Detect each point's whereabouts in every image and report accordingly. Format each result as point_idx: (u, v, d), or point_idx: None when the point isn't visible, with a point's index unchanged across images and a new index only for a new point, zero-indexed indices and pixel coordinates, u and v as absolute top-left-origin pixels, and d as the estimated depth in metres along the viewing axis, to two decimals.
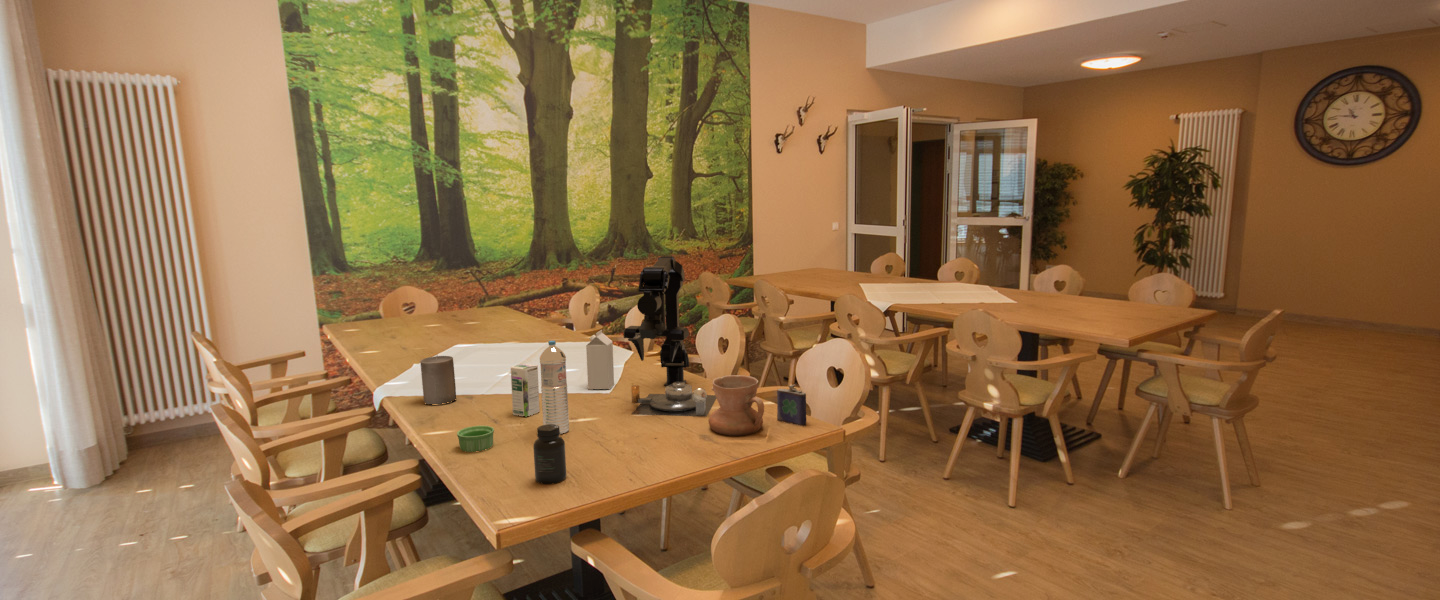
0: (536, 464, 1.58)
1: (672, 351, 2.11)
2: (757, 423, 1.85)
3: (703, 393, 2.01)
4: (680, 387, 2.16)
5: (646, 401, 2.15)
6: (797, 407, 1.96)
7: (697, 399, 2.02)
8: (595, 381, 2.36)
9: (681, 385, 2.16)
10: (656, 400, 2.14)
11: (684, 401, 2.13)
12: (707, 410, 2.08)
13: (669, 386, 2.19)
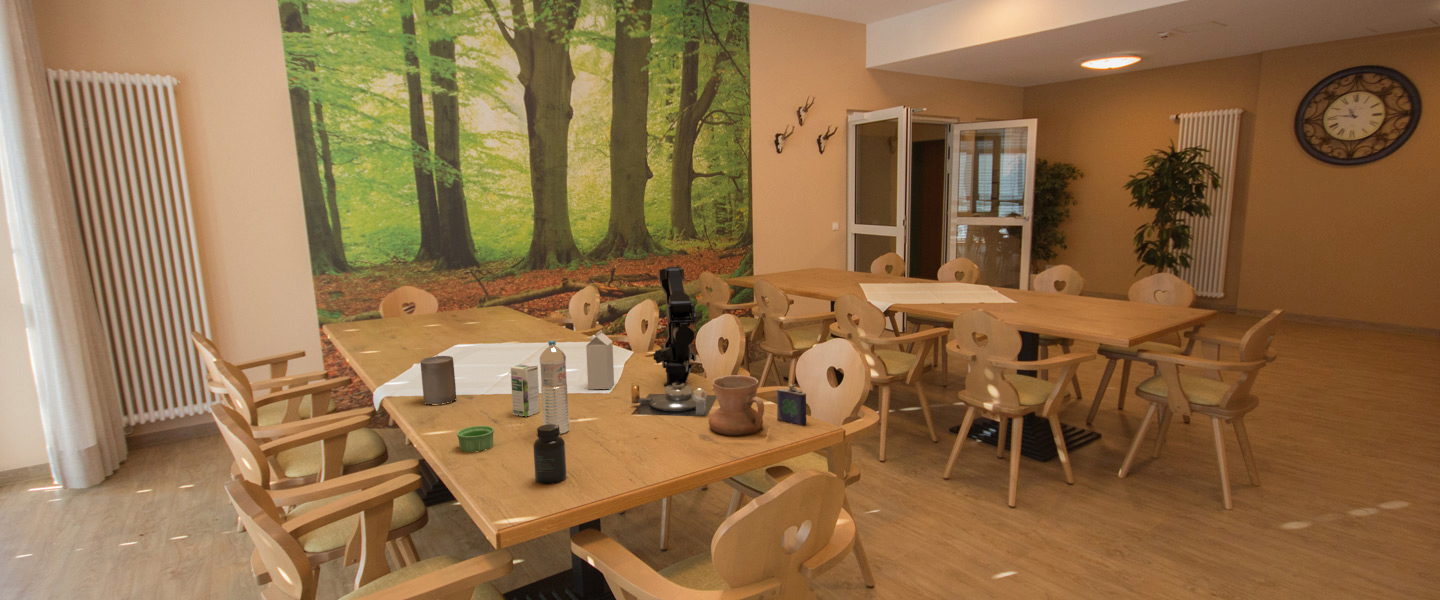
0: (536, 464, 1.58)
1: None
2: (757, 423, 1.85)
3: (703, 393, 2.01)
4: (680, 387, 2.16)
5: (646, 401, 2.15)
6: (797, 407, 1.96)
7: (697, 399, 2.02)
8: (595, 381, 2.36)
9: (681, 385, 2.16)
10: (656, 400, 2.14)
11: (684, 401, 2.13)
12: (707, 410, 2.08)
13: (669, 386, 2.18)
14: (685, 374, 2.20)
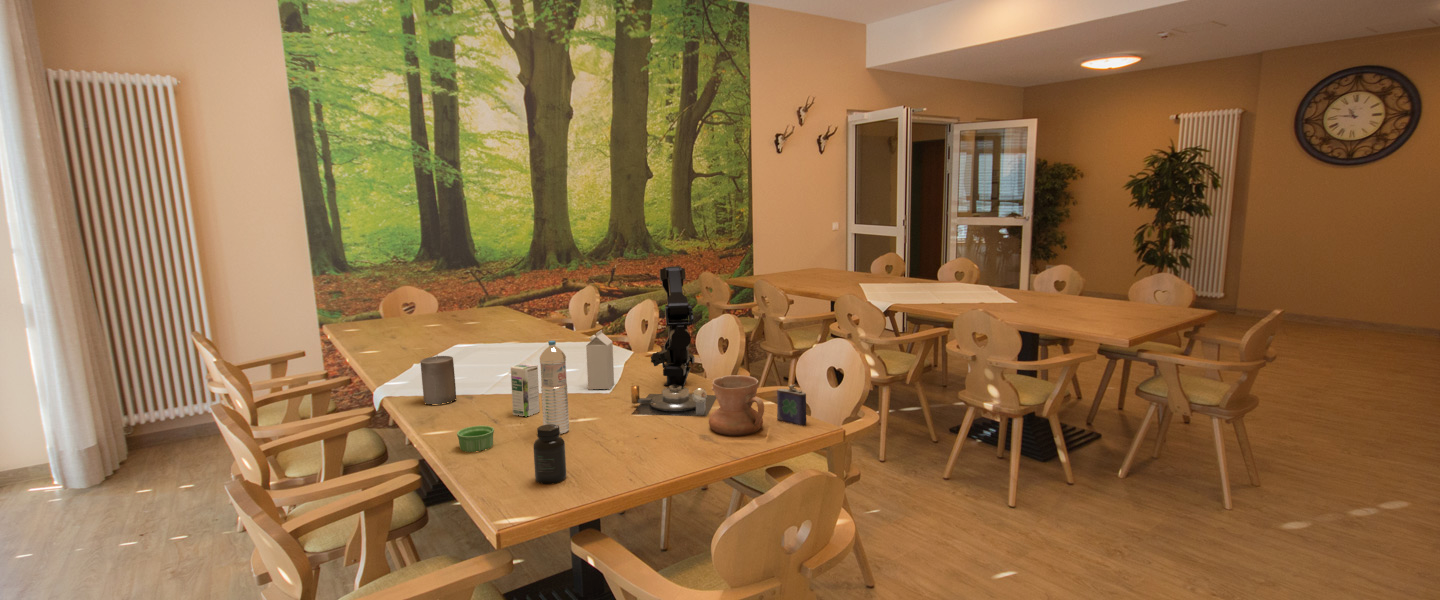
0: (536, 464, 1.58)
1: None
2: (757, 423, 1.85)
3: (703, 393, 2.01)
4: (677, 390, 2.13)
5: (646, 401, 2.15)
6: (797, 407, 1.96)
7: (697, 399, 2.02)
8: (595, 381, 2.36)
9: (678, 388, 2.13)
10: (656, 400, 2.14)
11: None
12: (707, 410, 2.08)
13: (666, 389, 2.15)
14: (683, 377, 2.17)
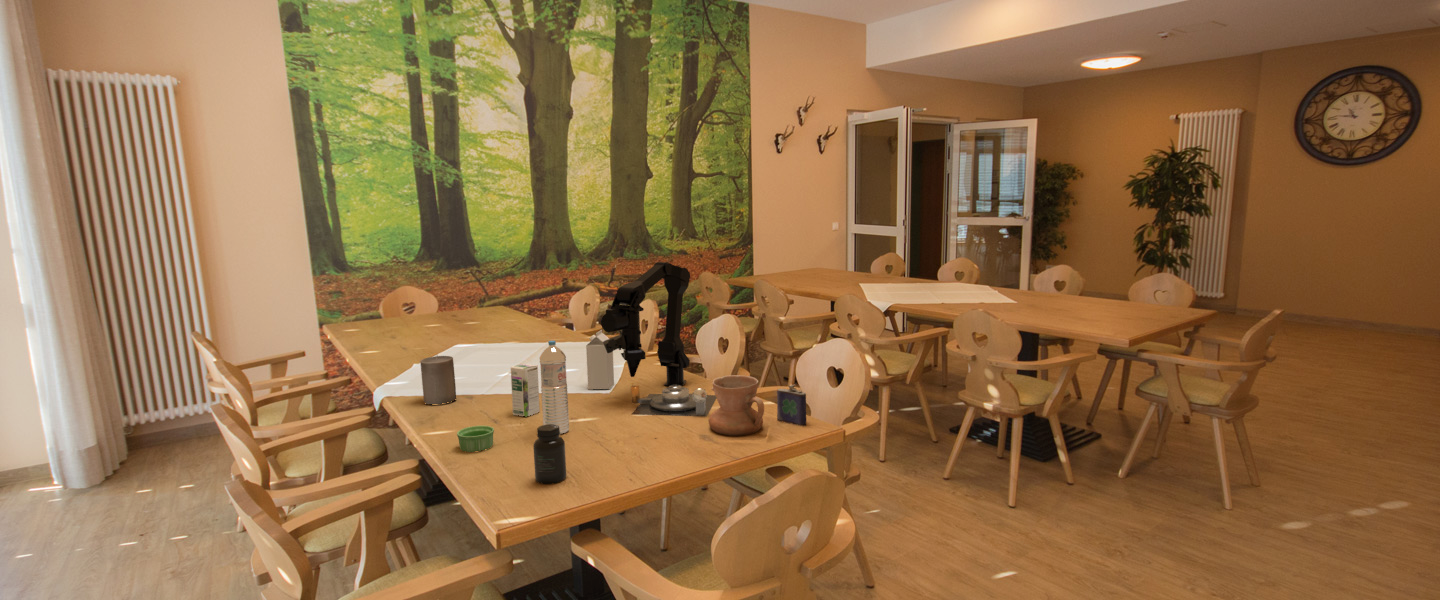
0: (536, 464, 1.58)
1: (628, 366, 2.21)
2: (757, 423, 1.85)
3: (703, 393, 2.01)
4: (677, 390, 2.13)
5: (646, 401, 2.15)
6: (797, 407, 1.96)
7: (697, 399, 2.02)
8: (595, 381, 2.36)
9: (678, 388, 2.13)
10: (656, 400, 2.14)
11: None
12: (707, 410, 2.08)
13: (666, 389, 2.15)
14: (637, 361, 2.20)
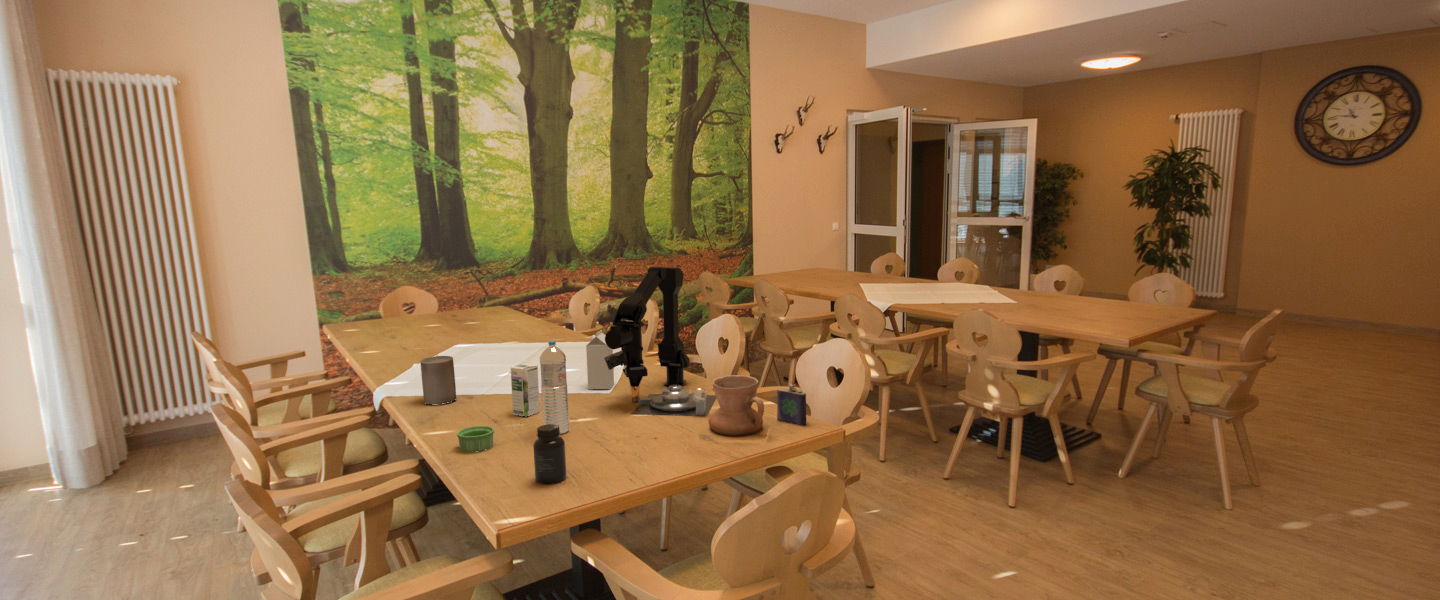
0: (536, 464, 1.58)
1: (630, 383, 2.17)
2: (757, 423, 1.85)
3: (703, 393, 2.01)
4: (677, 390, 2.12)
5: (646, 401, 2.15)
6: (797, 407, 1.96)
7: (697, 399, 2.02)
8: (595, 381, 2.36)
9: (678, 388, 2.13)
10: (656, 400, 2.14)
11: None
12: (707, 410, 2.08)
13: (666, 389, 2.15)
14: (639, 378, 2.17)
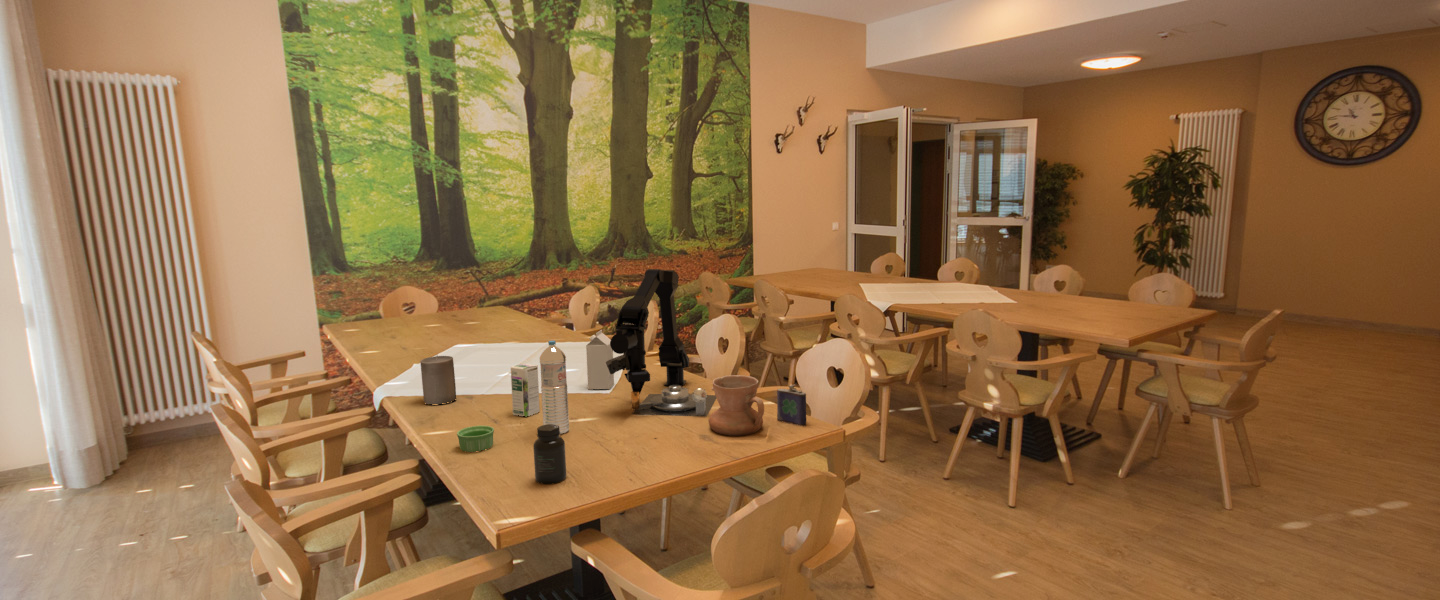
0: (536, 464, 1.58)
1: (632, 388, 2.11)
2: (757, 423, 1.85)
3: (703, 393, 2.01)
4: (679, 390, 2.13)
5: (648, 405, 2.10)
6: (797, 407, 1.96)
7: (697, 399, 2.02)
8: (595, 381, 2.36)
9: (679, 388, 2.13)
10: (658, 403, 2.11)
11: None
12: (707, 410, 2.08)
13: (665, 391, 2.13)
14: (641, 383, 2.11)
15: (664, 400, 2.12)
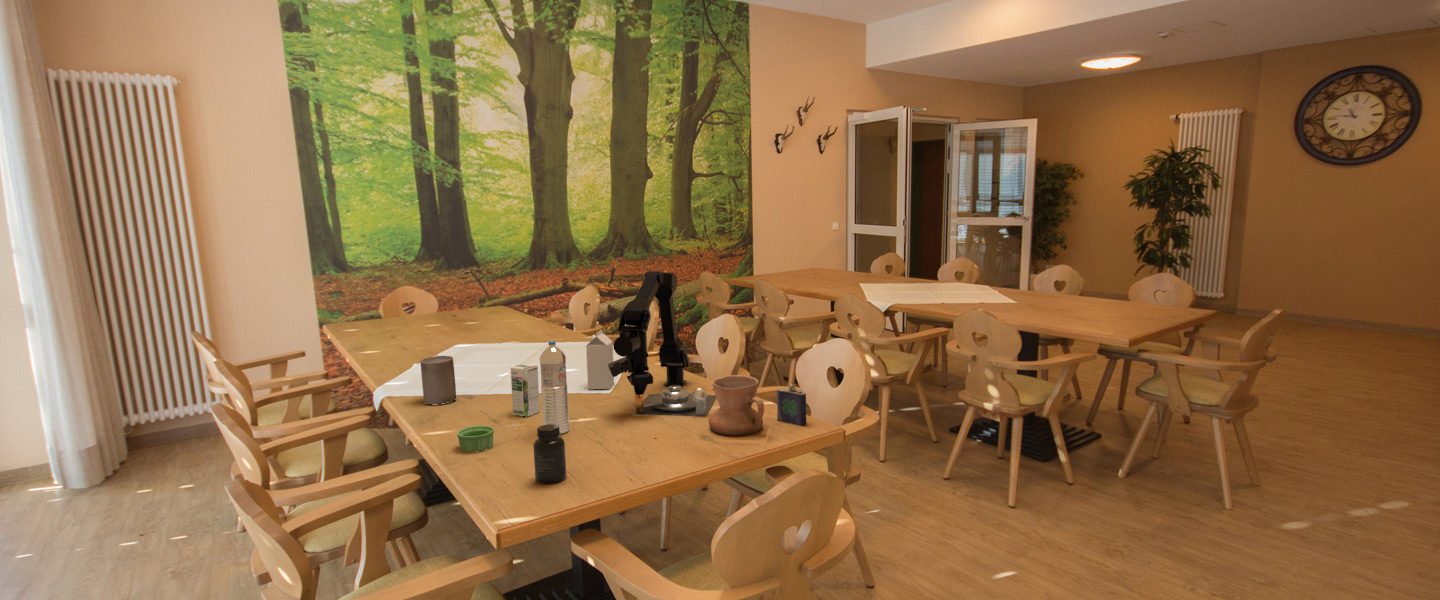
0: (536, 464, 1.58)
1: (634, 390, 2.08)
2: (757, 423, 1.85)
3: (703, 393, 2.01)
4: (680, 390, 2.13)
5: (651, 407, 2.09)
6: (797, 407, 1.96)
7: (697, 399, 2.02)
8: (595, 381, 2.36)
9: (680, 387, 2.13)
10: (661, 404, 2.10)
11: None
12: (707, 410, 2.08)
13: (665, 391, 2.13)
14: (644, 385, 2.08)
15: (666, 401, 2.11)
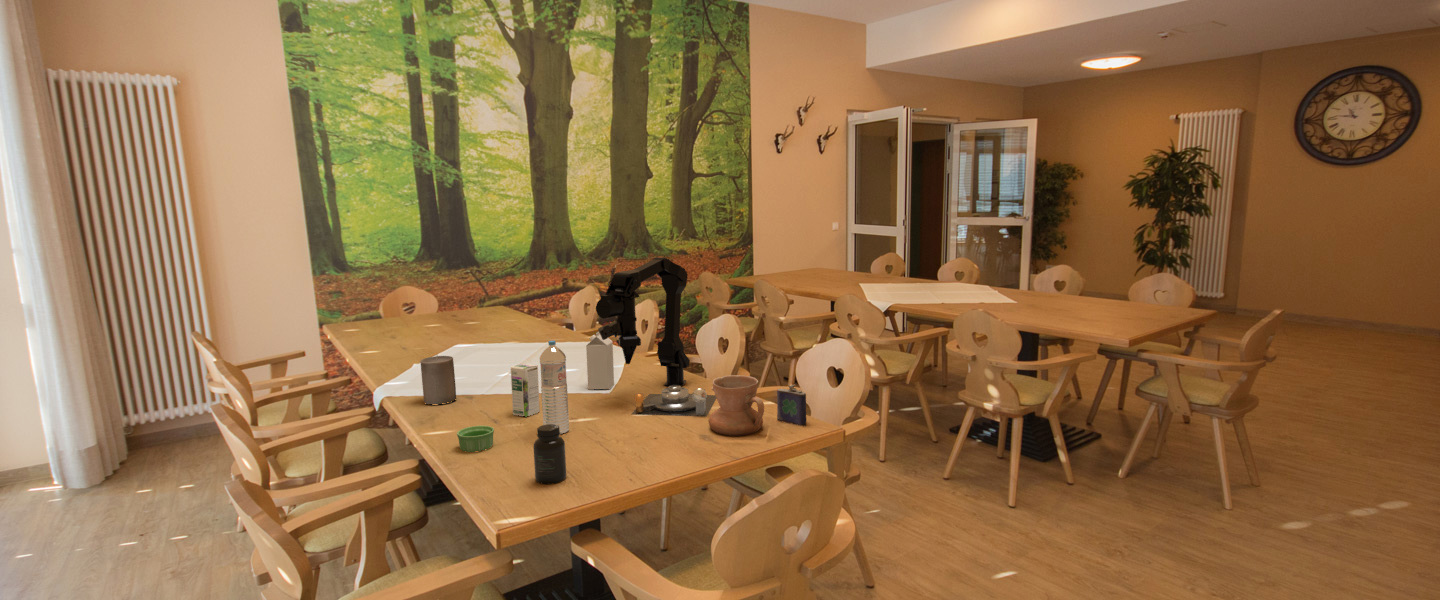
0: (536, 464, 1.58)
1: (623, 353, 2.19)
2: (757, 423, 1.85)
3: (703, 393, 2.01)
4: (680, 390, 2.13)
5: (651, 407, 2.09)
6: (797, 407, 1.96)
7: (697, 399, 2.02)
8: (595, 381, 2.36)
9: (680, 387, 2.13)
10: (661, 404, 2.10)
11: None
12: (707, 410, 2.08)
13: (665, 391, 2.13)
14: (632, 348, 2.18)
15: (666, 401, 2.11)
